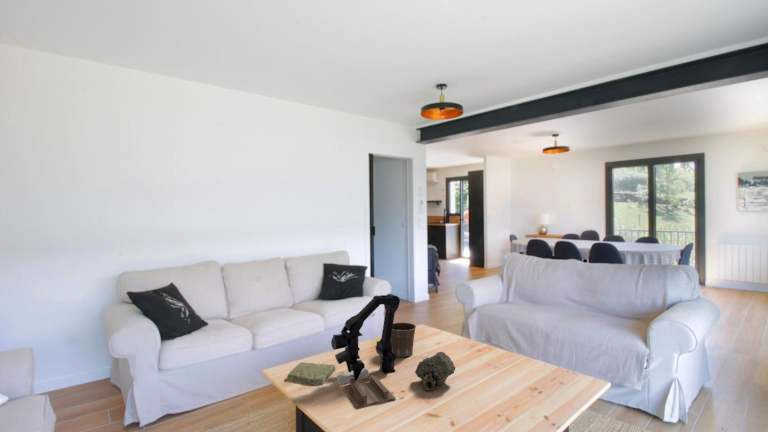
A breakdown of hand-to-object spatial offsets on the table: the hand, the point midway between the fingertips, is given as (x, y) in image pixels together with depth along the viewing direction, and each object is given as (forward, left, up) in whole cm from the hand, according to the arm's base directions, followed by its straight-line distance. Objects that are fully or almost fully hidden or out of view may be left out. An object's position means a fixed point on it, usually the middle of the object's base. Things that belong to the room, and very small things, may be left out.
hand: (352, 376), depth 192 cm
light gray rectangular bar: (0, 0, -2) cm, 2 cm away
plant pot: (-37, -21, -2) cm, 43 cm away
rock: (-33, +21, -2) cm, 39 cm away
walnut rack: (-2, +17, -1) cm, 17 cm away
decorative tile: (+18, -13, -2) cm, 22 cm away
